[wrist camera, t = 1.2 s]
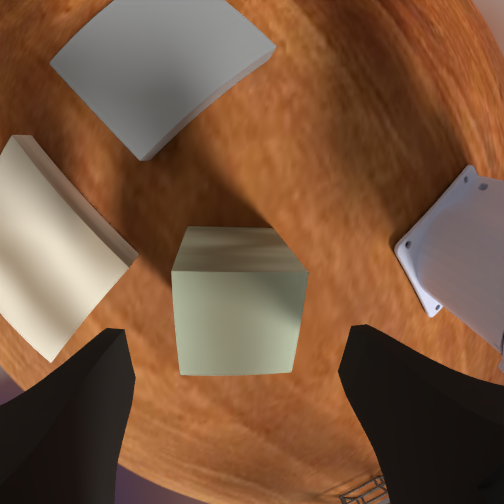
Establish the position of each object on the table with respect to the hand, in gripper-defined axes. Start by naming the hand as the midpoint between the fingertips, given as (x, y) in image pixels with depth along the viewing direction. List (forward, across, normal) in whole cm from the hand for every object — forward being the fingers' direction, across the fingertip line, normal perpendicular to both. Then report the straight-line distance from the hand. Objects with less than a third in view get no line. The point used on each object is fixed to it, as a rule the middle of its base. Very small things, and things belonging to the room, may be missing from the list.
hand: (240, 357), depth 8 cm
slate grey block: (+8, +4, -11) cm, 14 cm away
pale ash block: (+8, +12, -1) cm, 14 cm away
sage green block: (+8, 0, 0) cm, 8 cm away
